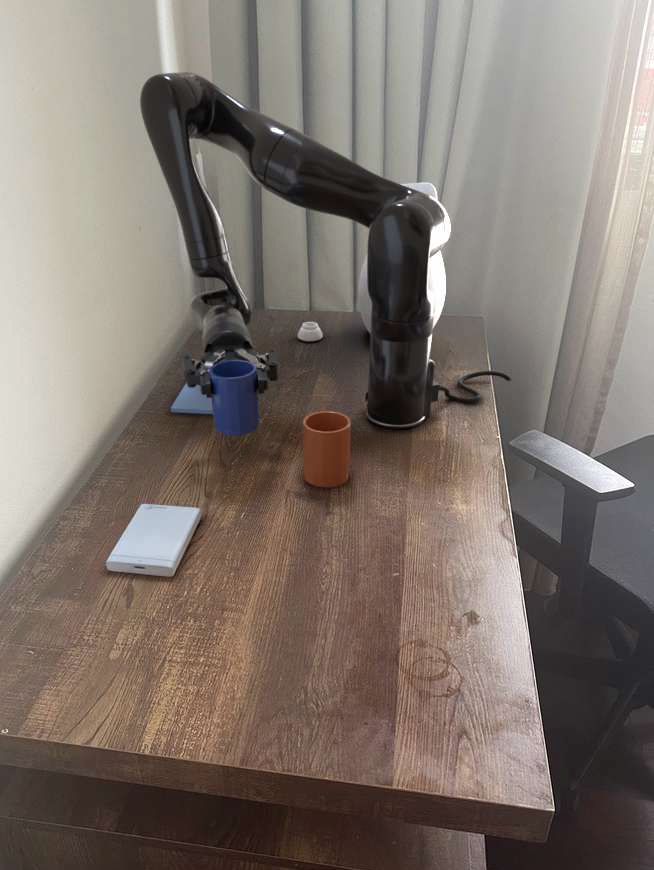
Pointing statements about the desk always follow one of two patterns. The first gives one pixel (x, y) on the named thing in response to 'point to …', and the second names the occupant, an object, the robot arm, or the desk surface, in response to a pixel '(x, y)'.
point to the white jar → (310, 332)
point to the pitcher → (434, 273)
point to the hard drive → (155, 540)
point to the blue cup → (234, 397)
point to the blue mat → (192, 401)
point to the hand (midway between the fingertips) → (235, 389)
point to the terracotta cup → (326, 448)
